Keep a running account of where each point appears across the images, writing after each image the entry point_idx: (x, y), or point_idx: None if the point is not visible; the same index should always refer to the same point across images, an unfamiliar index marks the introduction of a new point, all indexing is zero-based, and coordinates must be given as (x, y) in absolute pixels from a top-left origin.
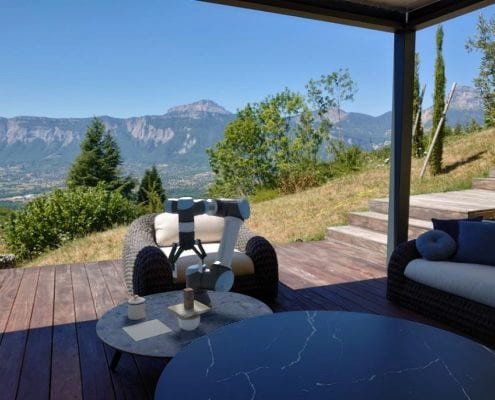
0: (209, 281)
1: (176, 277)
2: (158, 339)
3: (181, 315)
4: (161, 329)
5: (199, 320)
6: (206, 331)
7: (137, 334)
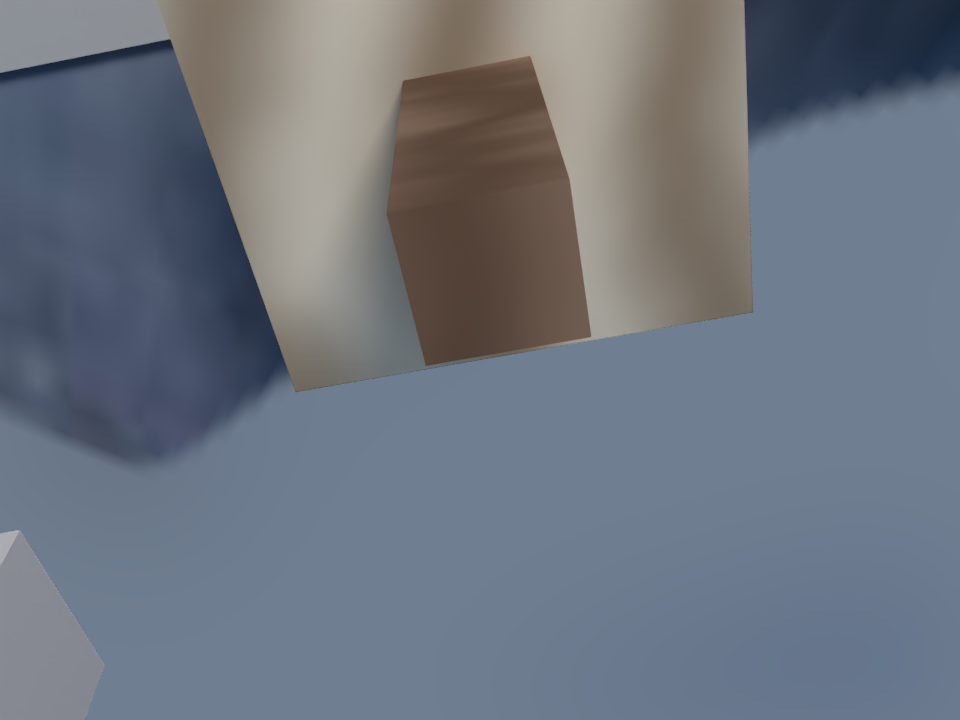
0: None
1: (82, 676)
2: (56, 154)
3: (288, 368)
4: None
5: None
6: None
7: None
